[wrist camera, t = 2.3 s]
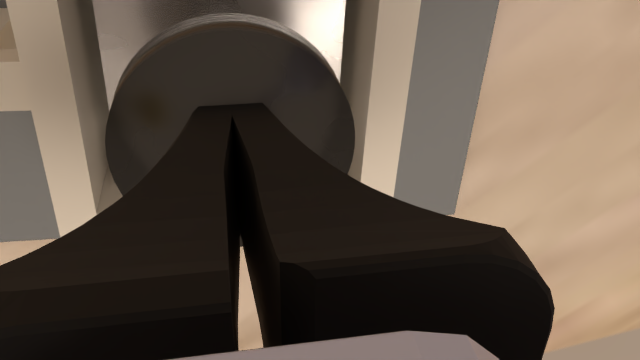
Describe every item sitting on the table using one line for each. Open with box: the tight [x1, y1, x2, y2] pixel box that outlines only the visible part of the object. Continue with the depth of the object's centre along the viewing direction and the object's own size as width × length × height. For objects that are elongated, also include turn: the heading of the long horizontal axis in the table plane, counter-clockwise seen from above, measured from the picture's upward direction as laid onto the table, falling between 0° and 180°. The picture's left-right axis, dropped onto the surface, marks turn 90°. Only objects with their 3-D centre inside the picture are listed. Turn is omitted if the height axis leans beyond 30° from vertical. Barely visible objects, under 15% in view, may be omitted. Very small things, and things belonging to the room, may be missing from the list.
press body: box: [0, 0, 421, 237], centre depth 16 cm, size 11×9×5 cm
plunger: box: [92, 0, 355, 247], centre depth 14 cm, size 6×6×6 cm
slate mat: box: [0, 0, 499, 242], centre depth 18 cm, size 18×16×1 cm
